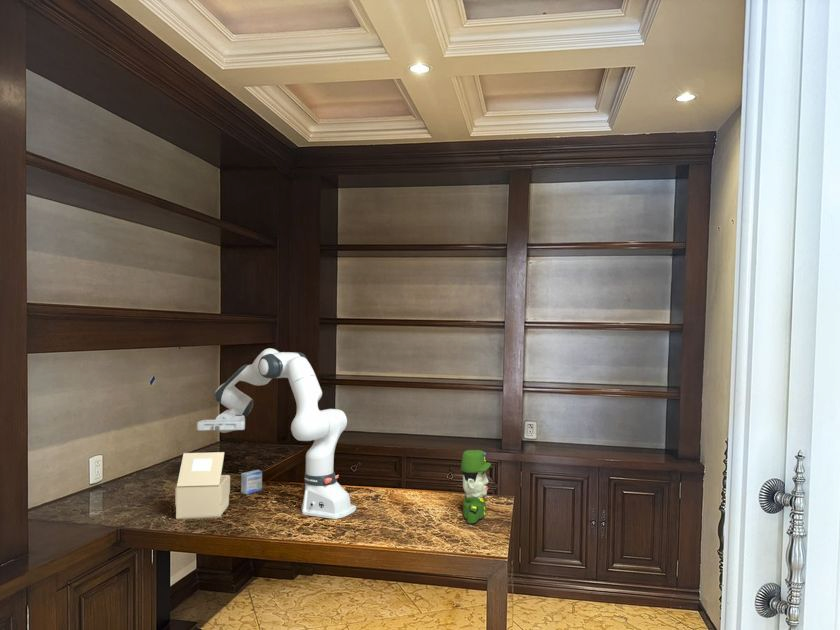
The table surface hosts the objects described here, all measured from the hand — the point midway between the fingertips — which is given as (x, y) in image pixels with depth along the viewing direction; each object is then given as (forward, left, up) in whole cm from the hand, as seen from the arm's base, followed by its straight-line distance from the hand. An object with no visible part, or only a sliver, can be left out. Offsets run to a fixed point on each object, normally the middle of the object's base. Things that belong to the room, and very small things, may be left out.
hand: (217, 428), depth 225 cm
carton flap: (-13, +18, -11) cm, 25 cm away
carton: (-11, +15, -29) cm, 34 cm away
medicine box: (-8, -12, -29) cm, 33 cm away
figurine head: (-105, -37, -29) cm, 115 cm away
